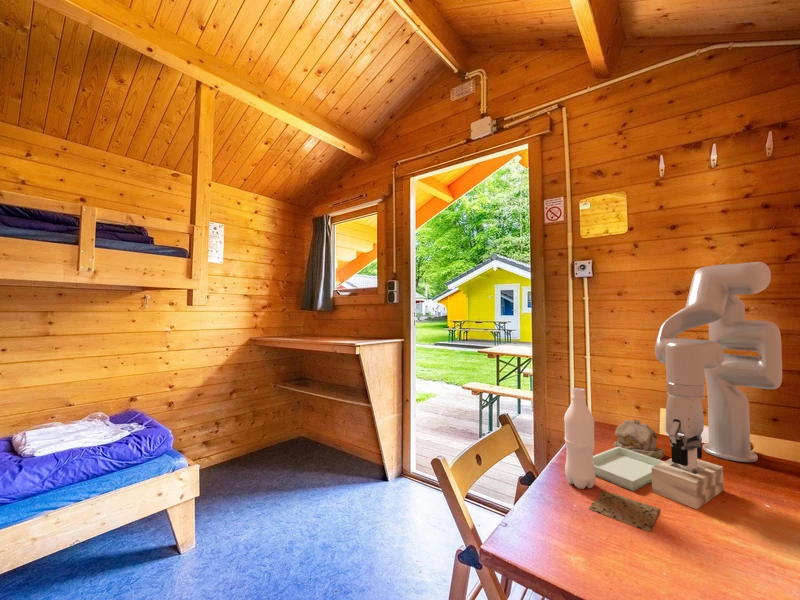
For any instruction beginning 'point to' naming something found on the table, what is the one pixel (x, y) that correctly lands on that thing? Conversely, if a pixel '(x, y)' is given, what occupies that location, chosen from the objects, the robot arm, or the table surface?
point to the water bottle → (579, 442)
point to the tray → (625, 467)
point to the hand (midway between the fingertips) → (687, 459)
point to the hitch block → (687, 482)
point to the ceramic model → (638, 439)
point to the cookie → (626, 510)
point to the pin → (691, 455)
